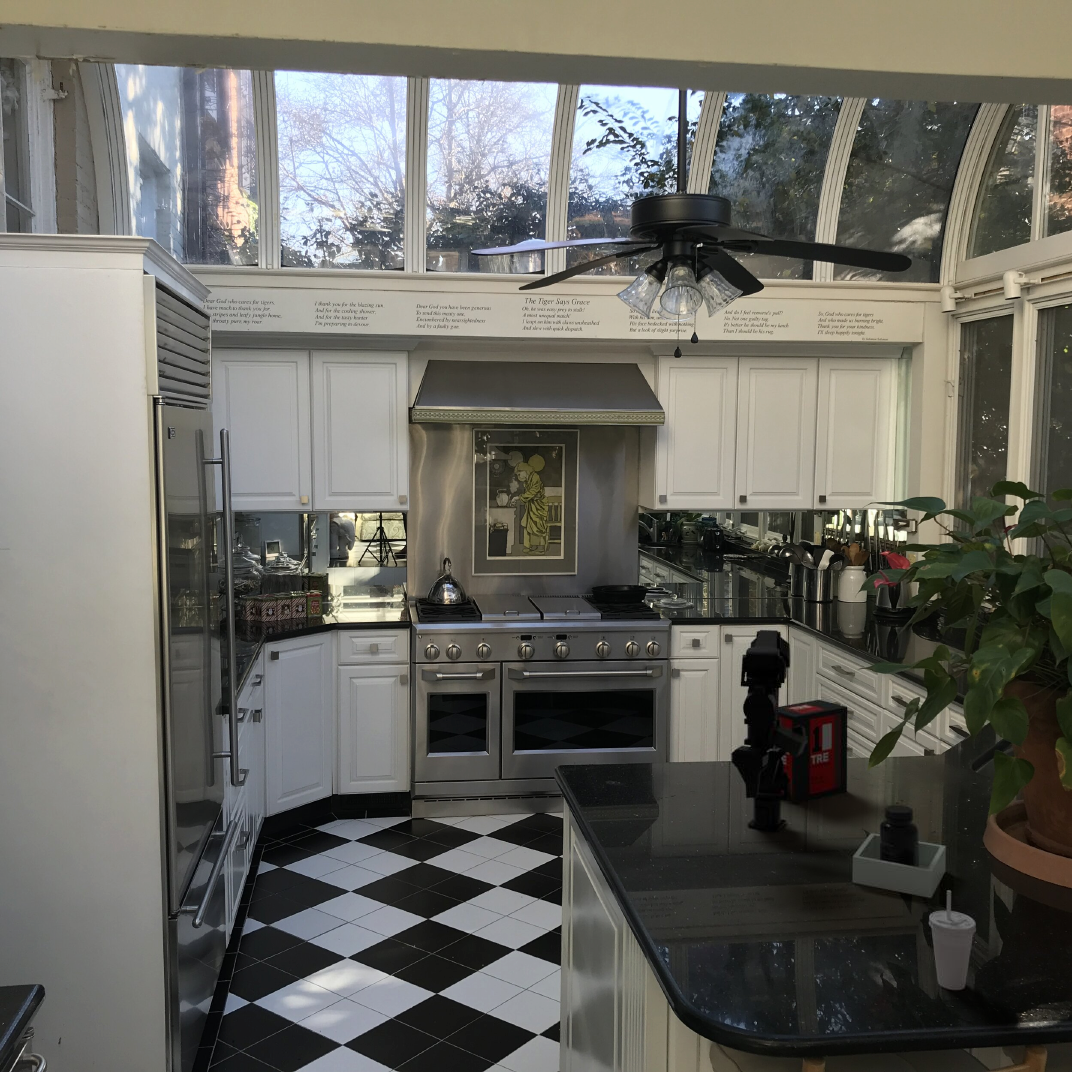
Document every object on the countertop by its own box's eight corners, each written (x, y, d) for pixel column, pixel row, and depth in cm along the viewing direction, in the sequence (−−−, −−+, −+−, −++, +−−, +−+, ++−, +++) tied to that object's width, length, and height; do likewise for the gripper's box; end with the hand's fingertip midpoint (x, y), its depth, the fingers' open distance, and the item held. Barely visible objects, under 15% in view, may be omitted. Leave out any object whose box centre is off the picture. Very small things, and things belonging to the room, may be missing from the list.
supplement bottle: (900, 862, 192) (901, 800, 191) (927, 876, 186) (927, 812, 185) (871, 868, 189) (872, 805, 189) (896, 882, 183) (897, 817, 182)
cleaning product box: (818, 781, 244) (818, 699, 242) (846, 791, 236) (847, 707, 235) (766, 793, 236) (766, 708, 234) (794, 804, 228) (794, 716, 226)
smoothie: (920, 974, 152) (921, 882, 151) (961, 971, 153) (962, 880, 152) (940, 996, 146) (942, 901, 145) (983, 993, 146) (985, 899, 145)
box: (870, 857, 197) (871, 833, 196) (945, 871, 190) (945, 846, 189) (852, 882, 185) (852, 856, 185) (931, 898, 178) (931, 871, 178)
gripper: (788, 726, 187) (787, 810, 188) (816, 708, 203) (816, 786, 204) (730, 720, 193) (730, 801, 194) (762, 703, 209) (762, 778, 210)
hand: (762, 791), depth 200 cm, fingers open, 9 cm apart
